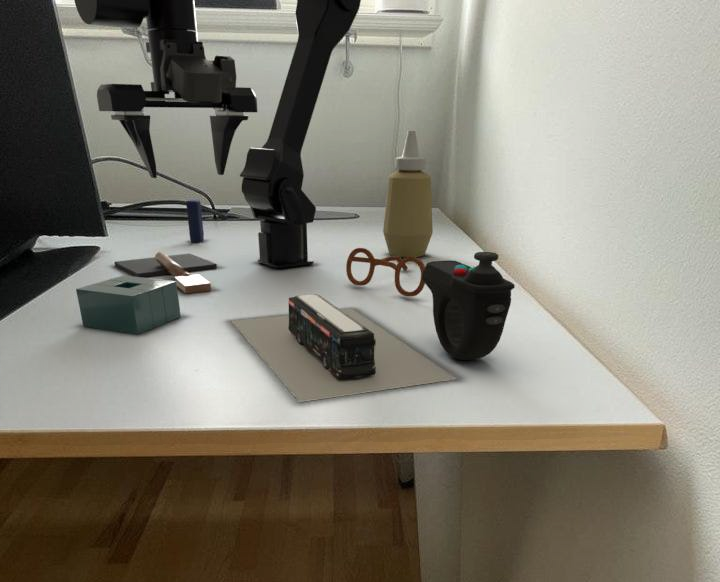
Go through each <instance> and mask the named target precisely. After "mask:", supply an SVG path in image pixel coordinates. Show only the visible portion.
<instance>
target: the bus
mask: <svg viewBox="0 0 720 582" xmlns="http://www.w3.org/2000/svg"><path fill="white" fill-rule="evenodd" d="M230 322H231V323H232V324H233V326H234V327H235V328H236V329H237V330H238V331H239V332H240V334H241V335H242V336H243V337H244V338H245V339H246V341H247V342H248V344H250V345H251V347H252V348H253V349H254V350H255V352H257V354H258V355H259V356H260V357H261V358H262V359H263V361H264V362H265V363H266V364H267V366H268V367H269V368H270V369H271V371H272V372H273V373H274V374H275V375H276V376H277V377H278V378H279V380H280V381H281V382H282V383H283V384H284V386H285V387H286V388H287V389H288V390H289V392H290V393H291V394H292V395H293V396H294V397H295V398H296V400H297V401H298V402H299V403H301V402H302V403H303V402H309V401H316V400H323V399H330V398H337V397H344V396H350V395H351V396H352V395H358V394H365V393H371V392H377V391H385V390H392V389H397V388H398V389H400V388H406V387H412V386H418V385H419V386H421V385H425V384H426V385H427V384H432V383H441V382H445V381H446V382H447V381H454V380H457V378H456V377H455V376H453V375H452V374H450V373H449V372H447V371H446V370H444V369H443V368H441V367H440V366H438V365H437V364H435V363H434V362H433V361H431V360H430V359H428V358H426V357H425V356H423V354H421V353H419V352H417V351H416V350H414V349H413V348H411V346H409V345H407V344H405V343H404V342H402V341H401V340H400V339H398V338H396V337H395V336H393V334H391V333H389V332H387V331H386V330H385V329H383V328H382V327H380V326H378V325H377V324H376V323H374V322H373V321H371V320H370V319H368V318H367V317H365V316H364V315H362V314H360V313H359V312H358V311H356V310H354V309H353V308H347V309H345V308H344V309H339V308H338V307H337V306H335V305H334V304H332V303H331V302H330V301H328V300H327V299H325V298H324V297H322V296H321V295H319V294H315V293H313V294H303V295H295V296H292V297H288V314H287V315H286V314H285V315H277V316H267V317H256V318H246V319H237V320H231V321H230Z"/></svg>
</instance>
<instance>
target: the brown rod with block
mask: <svg viewBox="0 0 720 582" xmlns="http://www.w3.org/2000/svg"><path fill="white" fill-rule="evenodd" d="M168 256H169V255H167V254H166V253H165V252H162V251H157V253H156V254H155V256H154V257H155V259H156V261H157V262H158V263H159V264H160V265H162V266H163V267H164V268H165V269H166V270H168V271H169V272H170V273H171V274H170V275H172V276H173V277H174V278H173V279H174V281H176V282H177V288H179V290H181V291H182V292H183V293H184V294H186V295H187V294H195V293H203V292H211V291H212V287H211V282H210V281H209V280H207V279H206V278H205V277H203V276H202V275H201V274H191V273H190V272H187V271H186V270H184V269H183V268H182V267H181V266H179V265H178V264H177V263H176V262H174V261H173V260H172V259H171V258H169V257H168Z"/></svg>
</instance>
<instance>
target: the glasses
mask: <svg viewBox="0 0 720 582" xmlns="http://www.w3.org/2000/svg"><path fill="white" fill-rule="evenodd" d="M360 253H362V254H364V255H365V256H366V257H363V256H356V255H358V254H360ZM394 261H396V262H397V264H396V263H395V262H394ZM353 262H355V263H356V262H358V263H367V264H369V270H368V273H367V275H366V277H365V279H363V280H357V279H356V278H355V277H354V276H353V272H352V263H353ZM411 262H412V263H415V264H416V265H417V266H418V268H419V270H420V271H419V272H420V280H419V284H418V286H417V287H416V288H415V289H414V290H412V291H407V290H406V289H404V288H403V287H402V284H401V280H400V278H401V277H400V276H401V270H403V271H404V272H407V270H408V268H409V267H408V265H407V263H411ZM377 266H381V267H382V266H383V267H388V268H392V269H393V270H394V285H395V289H396V290H397V292H398V293H399V294H400V295H402V296H404V297H416V296H418V295H419V294H420V293H421V292H422V290H423V289H424V288H425V286H426V284H425V283H424V281H423V279H422V274H423V271H424V269H425V267H426V265H425V264H424V262H423V261H422V259H420V258H419V257H406V258H403V257H399V256H392V255H390V256H386V257H383V258H375V256H374V255H373V253H372V252H371V251H370V250H369V249H367V248H364V247H356V248H355V249H353V250H351V252H350V253H349V254H348V256H347V260H346V265H345V271H346V277H347V279H348V280H349V281H350V282H351V284H353V285H355V286H359V287H361V286H366V285H367V284H369V283H370V282H371V280H372V279H373V276H374V272H375V269H376V267H377Z"/></svg>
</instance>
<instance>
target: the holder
mask: <svg viewBox="0 0 720 582" xmlns="http://www.w3.org/2000/svg"><path fill="white" fill-rule="evenodd" d="M75 292H76V296H77V302H78V306H79V311H80V316H81V321H82V326H83V327H86V328H91V329H100V330H106V331H113V332H117V333H118V332H119V333H124V334H125V333H126V334H133V335H141V334H143V333H145V332H148V331H150V330H153V329H154V328H157V327H160V326H163V325H165V324H167V323H169V322H172V321H174V320H178V319H179V318H181V317H182V315H181V307H180V299H179V291H178V286H177V282H176V281H175V280H169V279H168V280H167V279H158V278H150V277H136V276H134V275H119V276H116V277H113V278H110V279H105V280H103V281H99V282H96V283H95V282H94V283H92V284H89V285H85V286H81V287H78V288H75Z"/></svg>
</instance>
